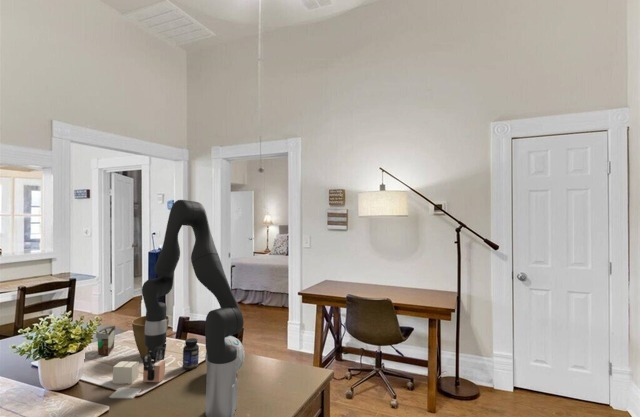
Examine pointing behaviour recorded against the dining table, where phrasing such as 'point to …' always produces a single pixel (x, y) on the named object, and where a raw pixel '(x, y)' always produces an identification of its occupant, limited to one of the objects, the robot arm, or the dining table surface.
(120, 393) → the mat
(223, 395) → the robot arm
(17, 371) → the dining table surface
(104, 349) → the food container
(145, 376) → the pink block
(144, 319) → the plant pot
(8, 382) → the dining table surface
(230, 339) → the puzzle ball
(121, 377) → the cream rounded block
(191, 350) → the pill bottle
